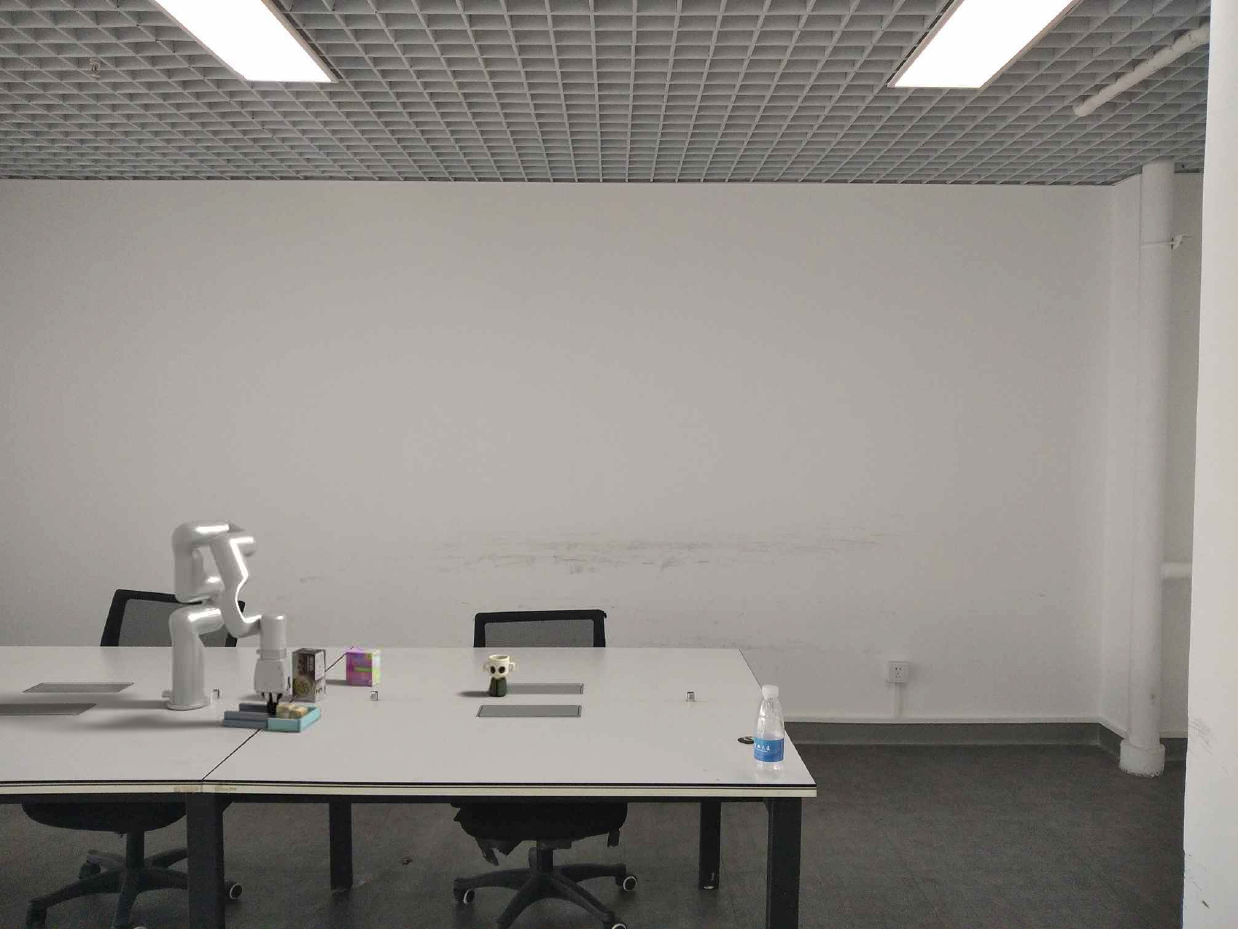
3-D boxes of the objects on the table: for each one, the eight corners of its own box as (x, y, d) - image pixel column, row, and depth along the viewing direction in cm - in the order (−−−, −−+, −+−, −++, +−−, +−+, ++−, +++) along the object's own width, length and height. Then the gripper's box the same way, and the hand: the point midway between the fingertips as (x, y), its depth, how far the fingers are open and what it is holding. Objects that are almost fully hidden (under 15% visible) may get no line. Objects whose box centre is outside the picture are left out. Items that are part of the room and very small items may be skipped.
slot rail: (222, 726, 282) (222, 713, 282) (243, 714, 294) (243, 701, 294) (266, 729, 280) (266, 715, 280) (285, 717, 292) (285, 704, 292)
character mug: (480, 697, 318) (481, 659, 318) (484, 691, 325) (485, 654, 325) (512, 698, 318) (513, 660, 317) (515, 692, 325) (516, 655, 324)
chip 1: (275, 719, 284) (276, 706, 284) (282, 715, 288) (283, 702, 288) (288, 720, 284) (289, 707, 283) (294, 716, 288) (295, 703, 287)
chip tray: (267, 730, 279) (267, 718, 279) (290, 716, 293) (290, 705, 293) (299, 732, 278) (299, 720, 278) (320, 718, 292) (320, 707, 292)
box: (345, 684, 330) (345, 651, 330) (353, 680, 336) (354, 647, 335) (372, 687, 328) (372, 653, 327) (380, 682, 333) (380, 649, 333)
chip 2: (289, 710, 283) (301, 711, 283) (295, 706, 287) (307, 707, 287) (288, 723, 284) (300, 724, 283) (294, 719, 288) (306, 720, 287)
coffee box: (326, 697, 314) (326, 649, 314) (315, 702, 308) (315, 653, 307) (302, 694, 317) (302, 647, 316) (290, 700, 310) (291, 651, 310)
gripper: (243, 655, 283) (243, 716, 283) (290, 658, 281) (290, 719, 282) (256, 650, 290) (255, 709, 291) (302, 652, 288) (301, 711, 289)
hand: (272, 713), depth 286 cm, fingers closed
